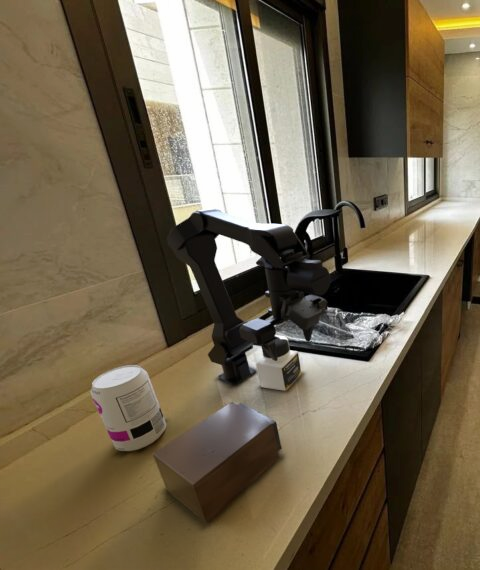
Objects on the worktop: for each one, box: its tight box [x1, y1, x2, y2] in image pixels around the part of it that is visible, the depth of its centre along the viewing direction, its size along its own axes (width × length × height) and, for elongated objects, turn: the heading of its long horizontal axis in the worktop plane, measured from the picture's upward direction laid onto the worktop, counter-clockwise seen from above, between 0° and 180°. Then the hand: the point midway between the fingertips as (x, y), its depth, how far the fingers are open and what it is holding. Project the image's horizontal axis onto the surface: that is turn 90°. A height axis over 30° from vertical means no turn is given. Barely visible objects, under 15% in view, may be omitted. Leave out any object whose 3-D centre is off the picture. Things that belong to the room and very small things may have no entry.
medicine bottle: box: [255, 335, 302, 392], centre depth 81 cm, size 7×7×12 cm
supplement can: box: [90, 364, 167, 452], centre depth 64 cm, size 8×8×15 cm
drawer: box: [237, 402, 282, 452], centre depth 59 cm, size 14×10×7 cm
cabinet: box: [151, 401, 280, 524], centre depth 57 cm, size 14×12×9 cm
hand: (292, 350), depth 74 cm, fingers open, 9 cm apart
